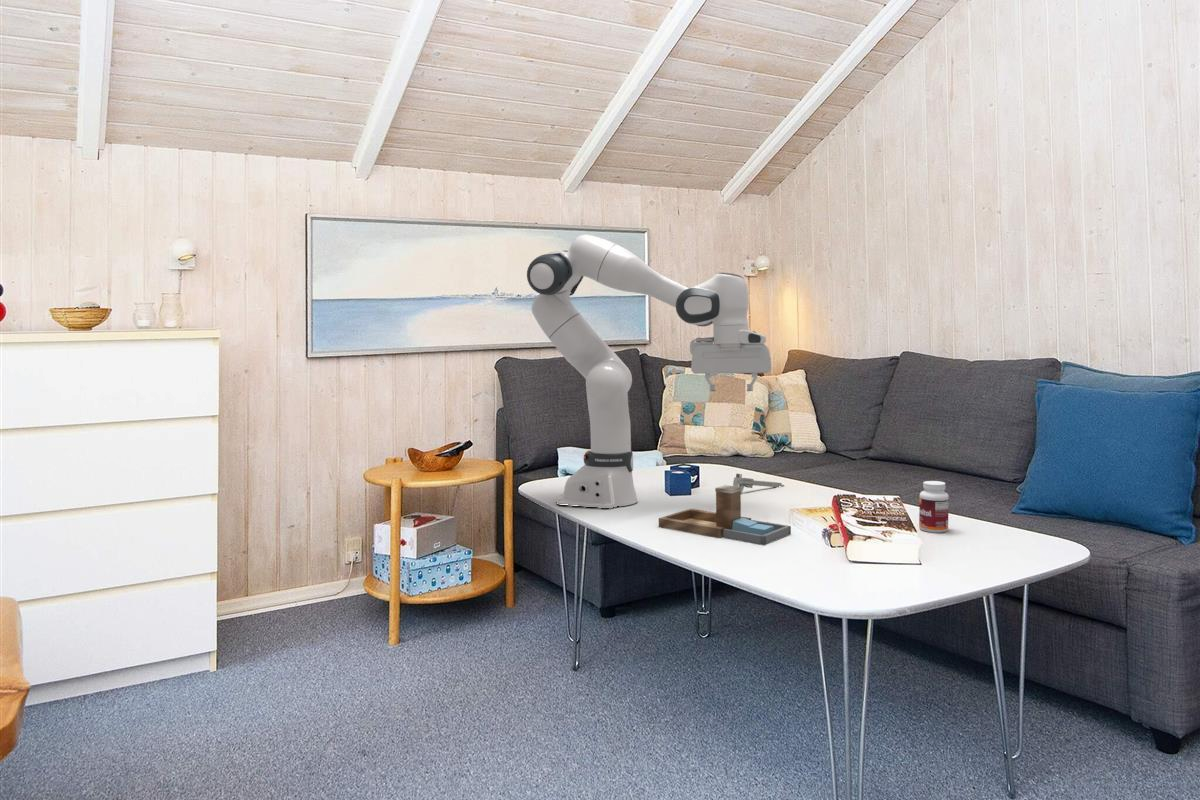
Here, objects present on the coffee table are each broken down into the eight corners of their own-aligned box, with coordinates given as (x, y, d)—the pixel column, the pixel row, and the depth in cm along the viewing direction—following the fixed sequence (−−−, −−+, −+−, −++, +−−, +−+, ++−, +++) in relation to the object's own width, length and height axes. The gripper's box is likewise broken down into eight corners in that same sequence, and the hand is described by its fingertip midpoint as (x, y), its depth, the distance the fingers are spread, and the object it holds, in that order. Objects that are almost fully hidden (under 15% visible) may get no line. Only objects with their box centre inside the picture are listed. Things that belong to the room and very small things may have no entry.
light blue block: (748, 540, 174) (748, 527, 174) (757, 536, 177) (757, 523, 177) (764, 543, 171) (764, 529, 171) (773, 539, 174) (773, 526, 174)
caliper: (735, 496, 225) (735, 474, 225) (733, 495, 226) (732, 473, 225) (784, 487, 237) (784, 466, 236) (781, 486, 238) (781, 465, 237)
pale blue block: (731, 534, 177) (732, 521, 176) (740, 530, 180) (742, 517, 179) (747, 538, 174) (748, 525, 174) (756, 535, 177) (757, 522, 177)
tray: (723, 542, 174) (723, 529, 174) (751, 532, 183) (751, 519, 182) (763, 550, 167) (763, 536, 167) (790, 539, 176) (790, 526, 176)
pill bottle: (913, 527, 184) (914, 480, 183) (937, 526, 185) (938, 479, 184) (929, 534, 178) (929, 485, 177) (954, 532, 179) (954, 484, 178)
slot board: (658, 531, 185) (658, 518, 185) (691, 521, 195) (690, 508, 194) (720, 543, 174) (720, 529, 173) (751, 531, 183) (751, 518, 183)
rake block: (715, 531, 179) (715, 487, 179) (725, 527, 183) (725, 484, 182) (731, 534, 177) (731, 489, 176) (741, 530, 180) (741, 486, 179)
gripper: (688, 337, 200) (689, 392, 201) (771, 336, 196) (771, 391, 198) (690, 337, 206) (691, 390, 208) (771, 336, 203) (771, 390, 204)
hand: (731, 391), depth 203 cm, fingers open, 8 cm apart
